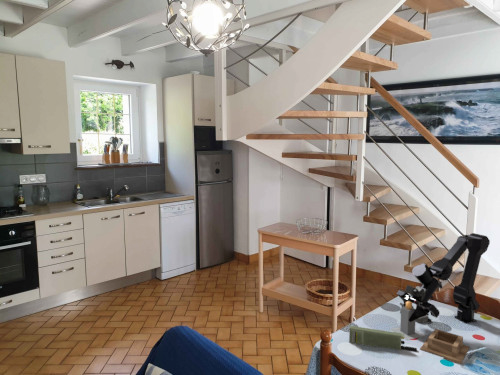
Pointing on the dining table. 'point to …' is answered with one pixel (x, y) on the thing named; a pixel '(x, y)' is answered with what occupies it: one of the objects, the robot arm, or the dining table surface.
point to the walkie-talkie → (421, 319)
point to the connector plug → (407, 319)
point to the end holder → (446, 346)
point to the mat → (408, 337)
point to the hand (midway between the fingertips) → (405, 319)
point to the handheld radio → (377, 338)
